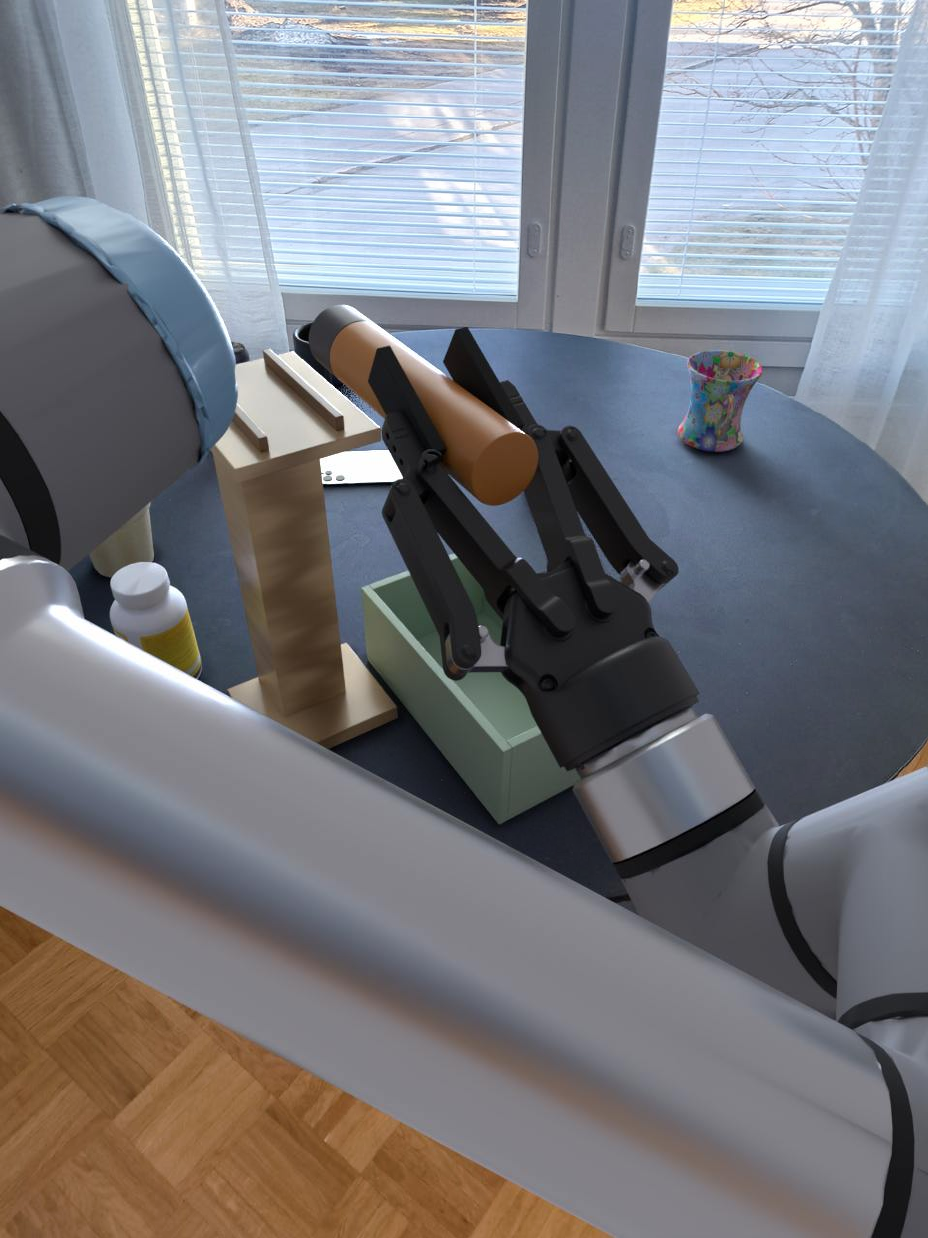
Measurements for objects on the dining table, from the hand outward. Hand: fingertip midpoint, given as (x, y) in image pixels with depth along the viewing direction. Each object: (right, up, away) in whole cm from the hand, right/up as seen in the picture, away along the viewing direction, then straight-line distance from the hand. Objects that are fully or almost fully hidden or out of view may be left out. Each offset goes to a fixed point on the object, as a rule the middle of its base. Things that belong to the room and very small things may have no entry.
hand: (417, 354), depth 47 cm
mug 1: (-17, +20, +82) cm, 86 cm away
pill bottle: (-25, -20, +35) cm, 47 cm away
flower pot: (-35, -8, +48) cm, 60 cm away
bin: (+5, -22, +32) cm, 39 cm away
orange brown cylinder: (-1, -3, +4) cm, 5 cm away
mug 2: (+35, +9, +69) cm, 78 cm away
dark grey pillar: (-27, +10, +70) cm, 76 cm away
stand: (-11, -22, +32) cm, 40 cm away
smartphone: (-9, +5, +63) cm, 64 cm away
